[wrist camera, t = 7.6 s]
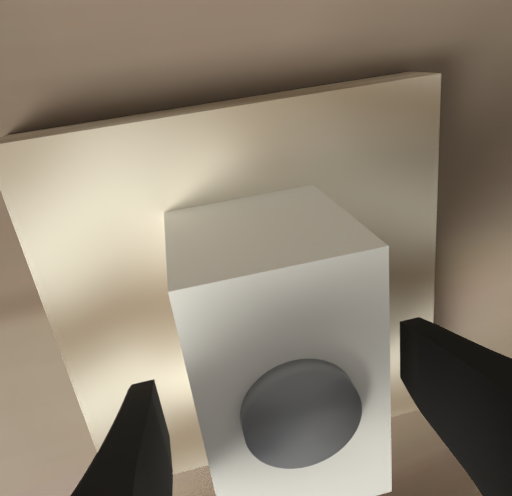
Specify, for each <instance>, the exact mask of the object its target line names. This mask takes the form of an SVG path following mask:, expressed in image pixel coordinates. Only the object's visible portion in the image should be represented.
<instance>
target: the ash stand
mask: <svg viewBox="0 0 512 496" xmlns="http://www.w3.org/2000/svg"><path fill="white" fill-rule="evenodd" d="M440 99H441V73H428V72H411V71H410V72H403V73H397V74H391V75H384V76H378V77H372V78H365V79H359V80H353V81H346V82H340V83H334V84H327V85H321V86H315V87H308V88H302V89H296V90H289V91H283V92H277V93H270V94H264V95H258V96H251V97H245V98H239V99H232V100H226V101H220V102H213V103H207V104H201V105H194V106H188V107H182V108H175V109H169V110H163V111H156V112H150V113H144V114H137V115H131V116H125V117H118V118H112V119H105V120H99V121H93V122H86V123H80V124H74V125H67V126H61V127H55V128H48V129H42V130H36V131H29V132H23V133H17V134H10V135H5V136H3V137H1V138H0V190H1V193H2V195H3V198H4V201H5V204H6V206H7V209H8V212H9V214H10V217H11V220H12V222H13V225H14V228H15V231H16V233H17V236H18V239H19V241H20V244H21V247H22V250H23V252H24V255H25V258H26V260H27V263H28V266H29V269H30V271H31V274H32V277H33V279H34V282H35V285H36V288H37V290H38V293H39V296H40V298H41V301H42V304H43V307H44V309H45V312H46V315H47V317H48V320H49V323H50V326H51V328H52V331H53V334H54V336H55V339H56V342H57V345H58V347H59V350H60V353H61V355H62V358H63V361H64V364H65V366H66V369H67V372H68V374H69V377H70V380H71V383H72V385H73V388H74V391H75V393H76V396H77V399H78V402H79V404H80V407H81V410H82V412H83V415H84V418H85V421H86V423H87V426H88V429H89V431H90V434H91V437H92V440H93V442H94V445H95V448H96V450H97V452H98V451H99V449H100V447H101V445H102V443H103V441H104V440H105V438H106V436H107V434H108V432H109V430H110V428H111V426H112V424H113V422H114V420H115V418H116V416H117V414H118V412H119V409H120V407H121V405H122V403H123V401H124V398H125V396H126V394H127V391H128V389H129V387H130V386H131V385H132V384H136V383H140V382H144V381H149V380H153V379H154V381H155V384H156V388H157V392H158V395H159V399H160V403H161V406H162V410H163V414H164V417H165V421H166V425H167V428H168V432H169V435H170V446H171V457H172V469H173V474H177V473H180V472H184V471H188V470H192V469H196V468H200V467H203V466H207V465H209V464H208V460H207V455H206V451H205V447H204V443H203V438H202V434H201V430H200V426H199V421H198V417H197V413H196V409H195V404H194V400H193V396H192V392H191V388H190V383H189V379H188V375H187V371H186V366H185V362H184V358H183V354H182V349H181V345H180V341H179V337H178V332H177V328H176V324H175V320H174V316H173V311H172V307H171V303H170V299H169V294H168V284H167V265H166V246H165V227H164V212H168V211H174V210H179V209H184V208H190V207H195V206H201V205H206V204H211V203H217V202H222V201H227V200H233V199H238V198H244V197H249V196H254V195H260V194H265V193H271V192H276V191H281V190H287V189H292V188H298V187H303V186H308V185H314V186H316V187H317V188H318V189H319V190H321V191H322V192H323V193H324V194H325V195H327V196H328V197H329V198H330V199H332V200H333V201H334V202H335V203H337V204H338V205H339V206H340V207H341V208H343V209H344V210H345V211H346V212H348V213H349V214H350V215H351V216H352V217H354V218H355V219H356V220H357V221H359V222H360V223H361V224H362V225H364V226H365V227H366V228H367V229H368V230H370V231H371V232H372V233H373V234H375V235H376V236H377V237H378V238H380V239H381V240H382V241H383V242H384V243H386V244H387V245H388V246H389V312H390V392H391V417H395V416H399V415H402V414H406V413H410V412H414V411H418V410H419V409H418V408H417V406H416V404H415V403H414V401H413V399H412V398H411V396H410V394H409V393H408V391H407V389H406V387H405V385H404V384H403V382H402V380H401V378H400V321H404V320H409V319H413V318H417V317H420V318H423V319H425V320H427V321H430V322H432V323H433V318H434V287H435V256H436V224H437V193H438V161H439V130H440Z"/></svg>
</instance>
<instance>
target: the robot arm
mask: <svg viewBox="0 0 512 496" xmlns="http://www.w3.org/2000/svg"><path fill="white" fill-rule="evenodd" d="M400 378H401V380H402V382H403V384H404V385H405V387H406V389H407V391H408V393H409V394H410V396H411V398H412V399H413V401H414V403H415V404H416V406H417V408H418V409H419V410H420V412H421V413H422V414H423V416H424V417H425V418H426V420H427V421H428V422H429V424H430V425H431V426H432V428H433V429H434V430H435V431H436V433H437V434H438V435H439V437H440V438H441V439H442V441H443V442H444V443H445V444H446V446H447V447H448V448H449V450H450V451H451V452H452V453H453V455H454V456H455V457H456V459H457V460H458V461H459V463H460V464H461V465H462V466H463V468H464V469H465V470H466V472H467V473H468V475H469V476H470V477H471V479H472V480H473V482H474V483H475V484H476V486H477V487H478V489H479V491H480V492H481V494H482V495H483V496H512V359H511V358H509V357H506V356H504V355H501V354H499V353H497V352H494V351H492V350H490V349H488V348H485V347H483V346H481V345H479V344H477V343H474V342H472V341H470V340H468V339H466V338H464V337H461V336H459V335H457V334H455V333H453V332H451V331H449V330H447V329H445V328H443V327H440V326H438V325H436V324H434V323H432V322H430V321H427V320H425V319H423V318H420V317H417V318H413V319H409V320H404V321H400ZM172 483H173V469H172V457H171V446H170V435H169V432H168V428H167V425H166V421H165V417H164V414H163V410H162V406H161V403H160V399H159V395H158V392H157V388H156V384H155V381H154V379H153V380H149V381H144V382H140V383H136V384H132V385H131V386H130V387H129V389H128V391H127V394H126V396H125V398H124V401H123V403H122V405H121V407H120V409H119V412H118V414H117V416H116V418H115V420H114V422H113V424H112V426H111V428H110V430H109V432H108V434H107V436H106V438H105V440H104V441H103V443H102V445H101V447H100V449H99V451H98V452H97V454H96V456H95V457H94V459H93V461H92V463H91V464H90V466H89V468H88V469H87V471H86V473H85V474H84V476H83V478H82V479H81V481H80V482H79V484H78V485H77V487H76V488H75V490H74V491H73V493H72V494H71V496H172Z"/></svg>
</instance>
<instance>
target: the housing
mask: <svg viewBox="0 0 512 496" xmlns="http://www.w3.org/2000/svg"><path fill="white" fill-rule="evenodd" d="M164 227H165V246H166V265H167V284H168V294H169V299H170V303H171V307H172V311H173V316H174V320H175V324H176V328H177V332H178V337H179V341H180V345H181V349H182V354H183V358H184V362H185V366H186V371H187V375H188V379H189V383H190V388H191V392H192V396H193V400H194V404H195V409H196V413H197V417H198V421H199V426H200V430H201V434H202V438H203V443H204V447H205V451H206V455H207V460H208V464H209V468H210V472H211V477H212V481H213V485H214V489H215V493H216V496H377V495H380V494H384V493H387V492H391V491H392V473H391V392H390V312H389V246H388V245H387V244H386V243H384V242H383V241H382V240H381V239H380V238H378V237H377V236H376V235H375V234H373V233H372V232H371V231H370V230H368V229H367V228H366V227H365V226H364V225H362V224H361V223H360V222H359V221H357V220H356V219H355V218H354V217H352V216H351V215H350V214H349V213H348V212H346V211H345V210H344V209H343V208H341V207H340V206H339V205H338V204H337V203H335V202H334V201H333V200H332V199H330V198H329V197H328V196H327V195H325V194H324V193H323V192H322V191H321V190H319V189H318V188H317V187H316V186H314V185H308V186H303V187H298V188H292V189H287V190H281V191H276V192H271V193H265V194H260V195H254V196H249V197H244V198H238V199H233V200H227V201H222V202H217V203H211V204H206V205H201V206H195V207H190V208H184V209H179V210H174V211H168V212H164Z"/></svg>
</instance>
